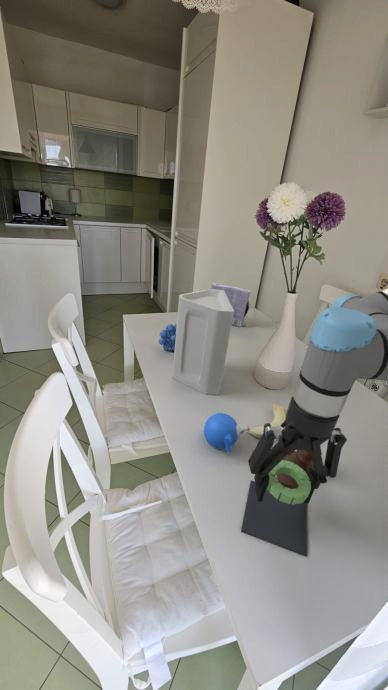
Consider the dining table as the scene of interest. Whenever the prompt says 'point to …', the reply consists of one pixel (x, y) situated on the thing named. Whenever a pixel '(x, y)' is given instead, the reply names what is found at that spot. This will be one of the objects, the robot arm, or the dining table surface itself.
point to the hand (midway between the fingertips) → (281, 496)
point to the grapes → (168, 337)
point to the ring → (286, 493)
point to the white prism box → (202, 339)
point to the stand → (300, 459)
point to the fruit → (278, 420)
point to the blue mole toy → (222, 431)
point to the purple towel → (236, 301)
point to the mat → (275, 521)
